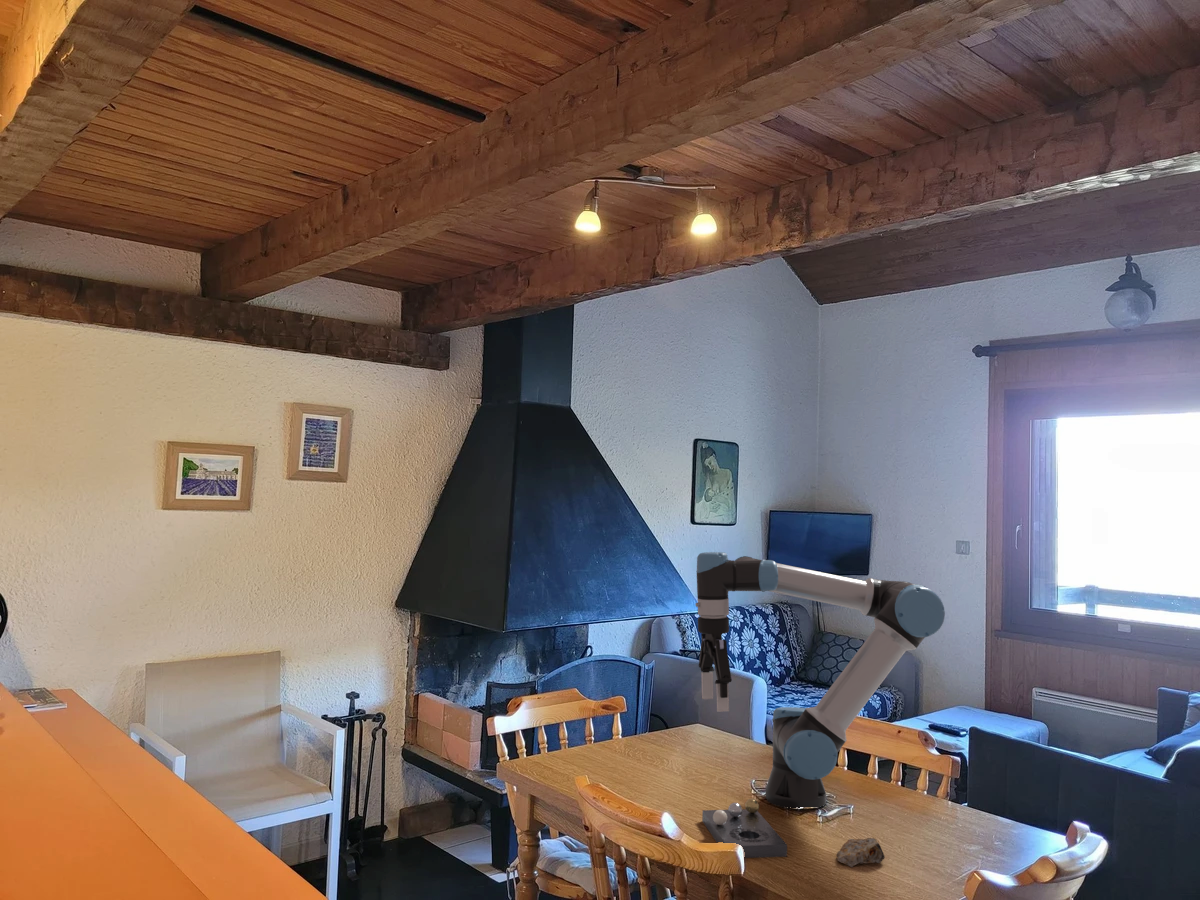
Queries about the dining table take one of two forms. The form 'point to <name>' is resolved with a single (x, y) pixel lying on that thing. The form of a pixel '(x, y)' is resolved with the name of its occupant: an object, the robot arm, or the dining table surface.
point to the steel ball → (735, 810)
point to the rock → (860, 852)
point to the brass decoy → (752, 806)
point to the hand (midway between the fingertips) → (715, 705)
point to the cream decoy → (720, 817)
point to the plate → (747, 834)
